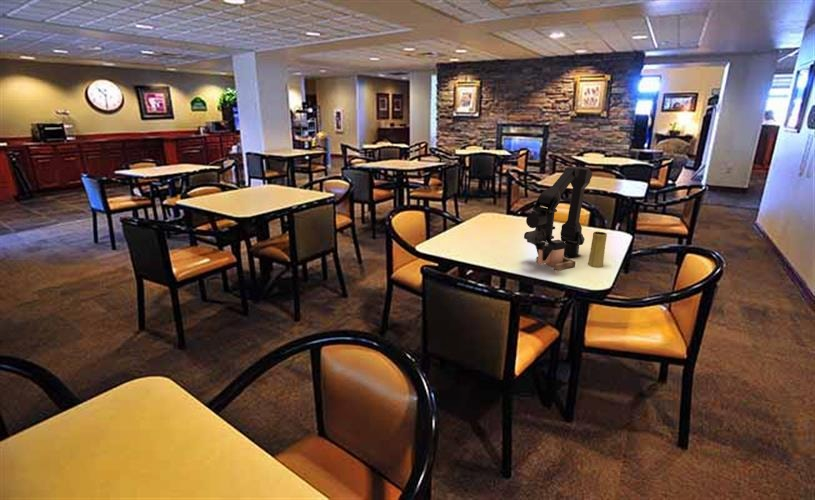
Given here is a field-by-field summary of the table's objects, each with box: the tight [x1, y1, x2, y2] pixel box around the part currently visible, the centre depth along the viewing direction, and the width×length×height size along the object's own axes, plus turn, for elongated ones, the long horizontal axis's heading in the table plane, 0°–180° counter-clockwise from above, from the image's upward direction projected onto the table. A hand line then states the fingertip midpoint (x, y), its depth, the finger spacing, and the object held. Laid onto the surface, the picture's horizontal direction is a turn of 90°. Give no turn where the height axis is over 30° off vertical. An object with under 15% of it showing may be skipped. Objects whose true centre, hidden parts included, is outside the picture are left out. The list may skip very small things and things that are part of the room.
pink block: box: [536, 249, 565, 269], centre depth 184 cm, size 12×7×9 cm, turn 116°
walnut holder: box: [535, 256, 576, 272], centre depth 186 cm, size 10×12×2 cm
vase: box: [587, 231, 608, 268], centre depth 184 cm, size 6×6×14 cm
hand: (542, 259), depth 182 cm, fingers closed on pink block
